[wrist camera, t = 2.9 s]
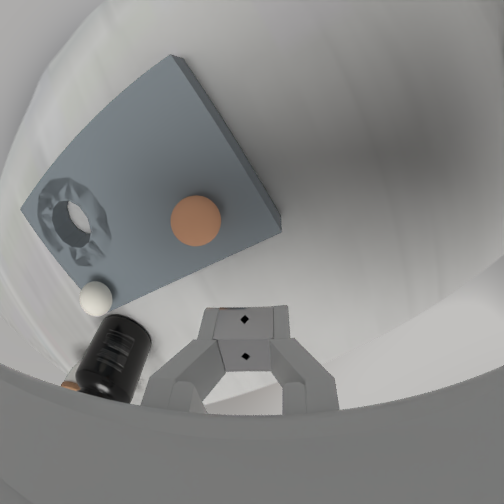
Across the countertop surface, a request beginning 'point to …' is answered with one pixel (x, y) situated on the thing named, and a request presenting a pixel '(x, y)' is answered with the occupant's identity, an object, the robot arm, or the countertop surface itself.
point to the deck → (149, 188)
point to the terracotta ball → (195, 220)
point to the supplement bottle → (114, 360)
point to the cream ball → (95, 298)
